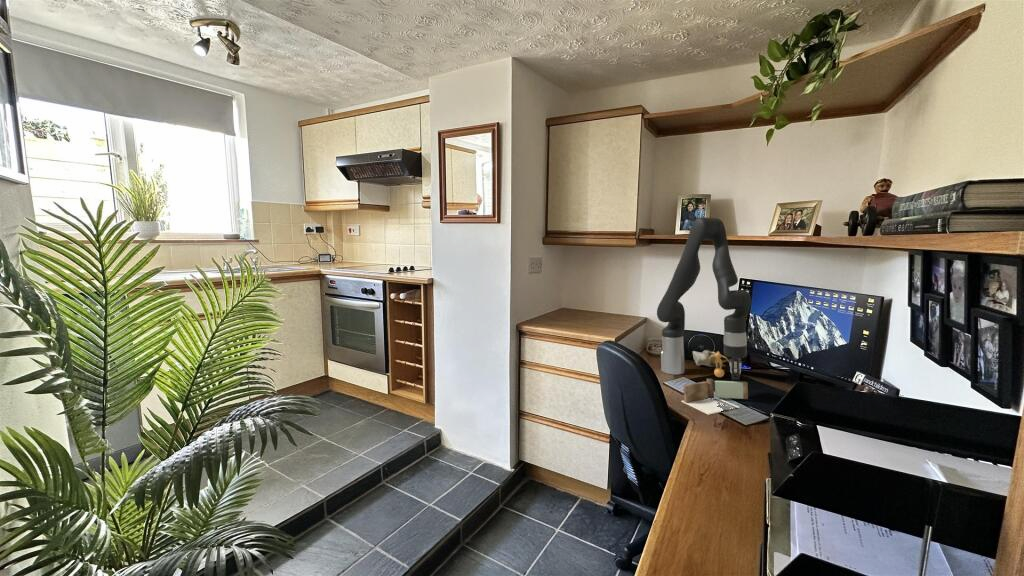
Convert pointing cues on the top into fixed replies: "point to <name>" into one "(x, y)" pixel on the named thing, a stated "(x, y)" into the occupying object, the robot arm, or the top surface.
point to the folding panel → (731, 389)
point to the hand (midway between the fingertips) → (735, 387)
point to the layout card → (710, 405)
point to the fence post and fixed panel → (699, 391)
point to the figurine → (718, 371)
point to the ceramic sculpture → (706, 359)
